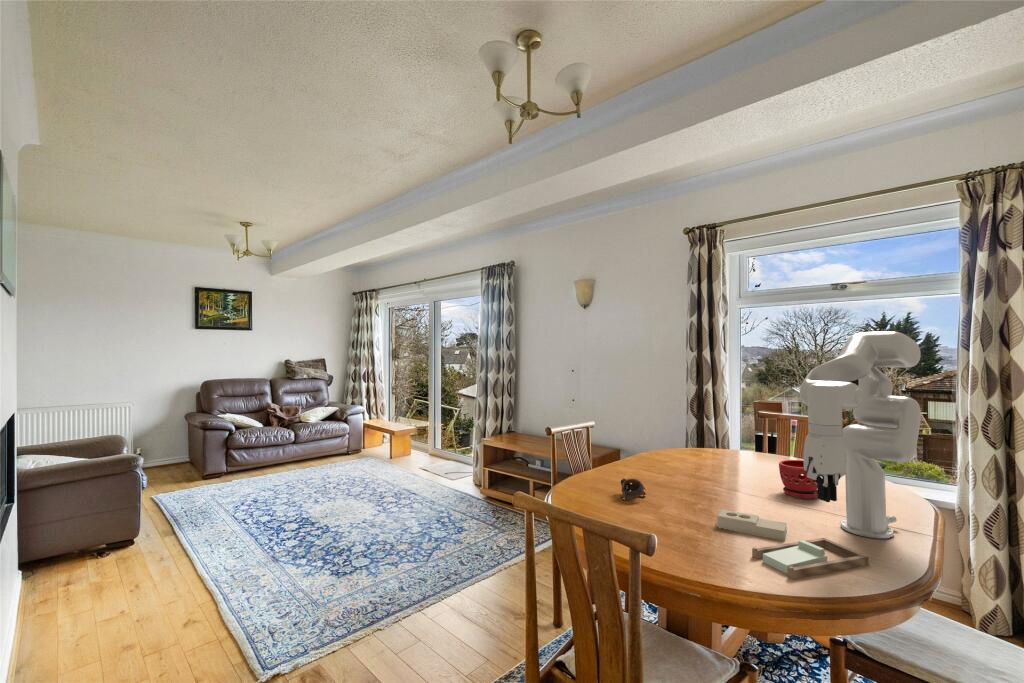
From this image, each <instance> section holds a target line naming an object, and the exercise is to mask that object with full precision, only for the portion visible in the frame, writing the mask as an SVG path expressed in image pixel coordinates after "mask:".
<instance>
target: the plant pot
mask: <svg viewBox="0 0 1024 683" xmlns="http://www.w3.org/2000/svg"><path fill="white" fill-rule="evenodd" d="M778 470H779V476H780V479H781V483H782V484H783V485H784V486H783V488H782V491H783V492H784V493H785V494H786V495H788V496H790V497H793V498H796V499H807V500H809V499H815V498H818V493H817V484H816V483H815V481H814V480H813V479H811V478H808V477H807V474H808V472H807V471H805V470H804V459H803V460H800V459H786V460H785V459H784V460H781V461H779V462H778Z"/></svg>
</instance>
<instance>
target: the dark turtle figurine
mask: <svg viewBox="0 0 1024 683" xmlns="http://www.w3.org/2000/svg"><path fill="white" fill-rule="evenodd" d="M620 485H621V493H622V494H621V498H622V497H623V498H625V499H626V500H630V499H636V498H639V497H640V496H642V495H647V493H646V492H645V490H646V487H645V486H644V484H643V483H642V482H641V480H639V479H636V478H628V479H625V478H622V479H621V480H620Z"/></svg>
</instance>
